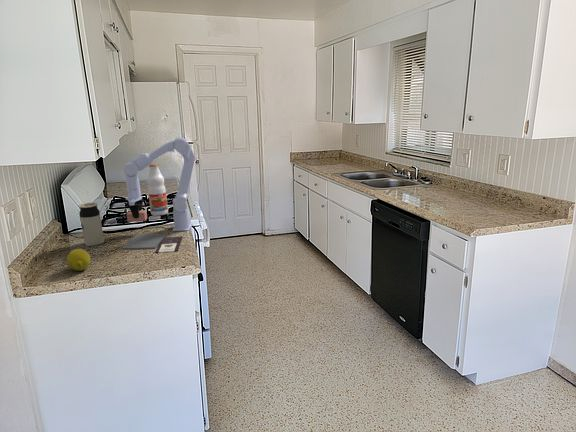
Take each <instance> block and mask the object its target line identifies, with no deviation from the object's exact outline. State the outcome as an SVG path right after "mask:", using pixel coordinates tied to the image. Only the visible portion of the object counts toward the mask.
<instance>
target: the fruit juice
mask: <svg viewBox="0 0 576 432" xmlns="http://www.w3.org/2000/svg"><path fill="white" fill-rule="evenodd" d="M159 166H160V165H159V163H156V162H155V163H152V164H151V165H149V166H148V167H149V172H148V176H147V178H146V183H147V186H148V188H147V194H148V200H149V201H148V203H149V210H150V214H151V215H152V216H164V215H167V214H168V213H169V207H168V200H167V190H166V185H165V177H164V176H163V174H162V173H161V171H160V168H159Z"/></svg>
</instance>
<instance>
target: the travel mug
mask: <svg viewBox="0 0 576 432" xmlns="http://www.w3.org/2000/svg"><path fill="white" fill-rule="evenodd" d="M78 208H79V211H78V214H79V219H80V220H79V221H80V225H81V230H82V235H83V242H84V245H86V246H88V247H89V246H90V247H93V246H94V247H95V246H98V245H101V244H103V243H104V242H105V237H104V230H103V225H102V220H101V213H100V210H99V208H98V203H97V202H84V203H80V204H79V205H78Z"/></svg>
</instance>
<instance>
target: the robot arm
mask: <svg viewBox="0 0 576 432" xmlns="http://www.w3.org/2000/svg"><path fill="white" fill-rule="evenodd" d="M175 151H176V152H177V153H179V154H180V155H181V156H182V158H183V159H184V160H183V164H182V165H183V166H182V170H181V174H180V178H179V184H178V188H177V191H176V195H175V197H174V198H173V200H172V207H173V210H172V214H173V215H172V216H173V224H174V228H172V232H182V231H187V232H188V231H190V229H191V228H192V226H193V225H194V224H193V223H191V216H190V215H191V214H190V213H191V212H190V211H189V208H187V207H188V205H187V197H188V192H189V188H190V182H191V178H192V174H193V171H194V170H193V169H194V164H195V160H196V157H195V154H194V151H193V149H192V147H191V144H190V143H189V141H187V139H185V138H184V137H181V136H180V137H179V136H178V137H176V138H175V139H171V140H169V141H168V142H165V143H164V144H162V145H161V146H160V147H158V148H156V149H155V150H152V152H150V153H146V152H145V153H140V154H139V156H138V157H136V158H135V159H130V162H126V164H125V165H124V167H123V173H124V174H125V175H124V177H125V184H126V191H127V197H126V198H125V201H128V203H127V204H126V205H127V208H128V209H129V211H131V213H132V215H133V217H134V218H139V211H140V210H143V209H142V208H143V203H144V199H143V197H142V191H141V186H140V179H139V173H138V172H140V171H142V170H144V169H146V168H147V167H149V165H151V164H154V163H153V161H154V160H155V159H157V158H159V157H161V156H162V155H164V154H166V153H167V152H172V153H173V152H175Z"/></svg>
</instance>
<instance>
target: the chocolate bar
mask: <svg viewBox="0 0 576 432" xmlns="http://www.w3.org/2000/svg"><path fill="white" fill-rule="evenodd" d="M182 242H183V236H182V235H181V236H169V237H167V236H166V237H165V238H163V239H162V240H161V242H160V244H159V245H158V246H157V247H156V250H155V254H162V253H163V254H164V253H175V252H179V249H180V246H181V243H182Z"/></svg>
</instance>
